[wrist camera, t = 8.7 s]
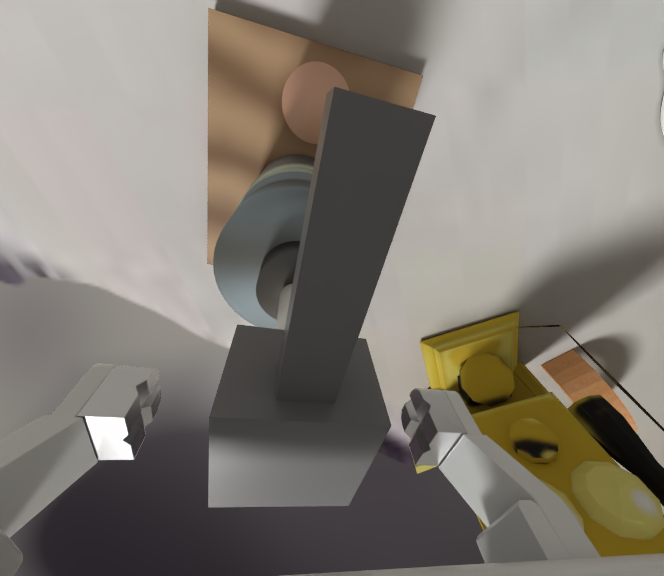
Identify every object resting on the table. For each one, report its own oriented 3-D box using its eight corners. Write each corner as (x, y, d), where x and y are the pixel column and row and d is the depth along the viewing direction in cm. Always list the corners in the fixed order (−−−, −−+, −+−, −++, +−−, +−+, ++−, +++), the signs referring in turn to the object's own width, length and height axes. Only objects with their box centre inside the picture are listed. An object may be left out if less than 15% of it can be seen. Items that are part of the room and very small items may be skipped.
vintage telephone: (580, 289, 42) (1023, 563, 16) (569, 352, 49) (862, 611, 23) (377, 352, 44) (481, 671, 19) (395, 403, 52) (487, 684, 26)
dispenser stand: (213, 13, 23) (-21, -263, 6) (417, 77, 26) (618, 11, 10) (211, 258, 33) (123, 397, 17) (355, 280, 37) (400, 413, 20)
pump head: (274, 95, 10) (213, 46, 3) (384, 125, 10) (543, 142, 4) (251, 324, 15) (208, 507, 8) (327, 332, 15) (348, 505, 8)
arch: (573, 348, 49) (631, 397, 40) (592, 402, 58) (642, 451, 49) (540, 364, 50) (589, 415, 41) (564, 414, 59) (608, 464, 51)
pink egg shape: (289, 65, 24) (287, 51, 19) (347, 82, 25) (359, 73, 20) (282, 131, 26) (277, 135, 21) (334, 144, 27) (342, 151, 22)
